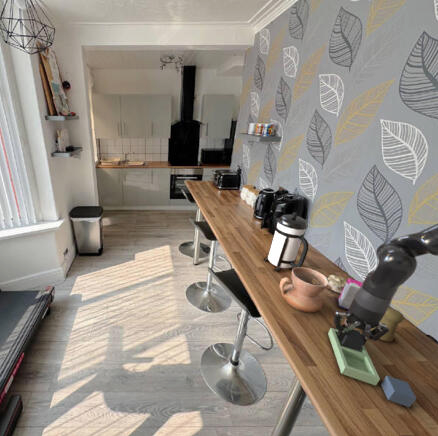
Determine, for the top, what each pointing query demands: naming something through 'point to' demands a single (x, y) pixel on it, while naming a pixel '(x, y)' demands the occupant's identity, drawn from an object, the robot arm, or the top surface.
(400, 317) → the cork
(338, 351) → the frame
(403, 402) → the blue block
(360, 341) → the dark grey block
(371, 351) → the top surface
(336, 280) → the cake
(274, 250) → the coffee press
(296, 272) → the ceramic jug
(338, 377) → the top surface
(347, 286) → the supplement box
